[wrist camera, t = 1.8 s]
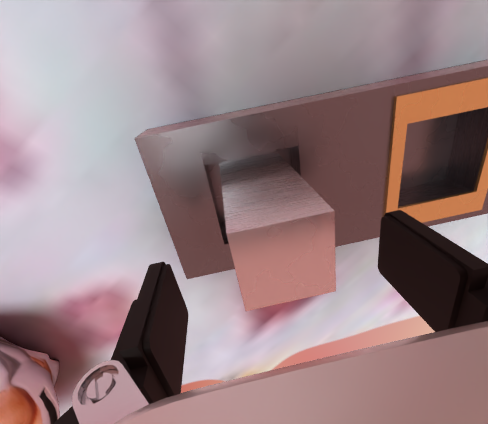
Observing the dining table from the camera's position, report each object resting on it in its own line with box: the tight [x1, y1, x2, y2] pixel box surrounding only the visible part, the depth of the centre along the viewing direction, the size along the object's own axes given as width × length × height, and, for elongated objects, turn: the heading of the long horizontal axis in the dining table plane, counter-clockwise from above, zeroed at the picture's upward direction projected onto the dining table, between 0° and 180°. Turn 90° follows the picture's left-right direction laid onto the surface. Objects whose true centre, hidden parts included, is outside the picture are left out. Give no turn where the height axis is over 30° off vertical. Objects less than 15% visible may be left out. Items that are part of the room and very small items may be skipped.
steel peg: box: [219, 152, 336, 311], centre depth 14 cm, size 4×4×9 cm
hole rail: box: [135, 60, 488, 279], centre depth 17 cm, size 10×24×3 cm, turn 100°
